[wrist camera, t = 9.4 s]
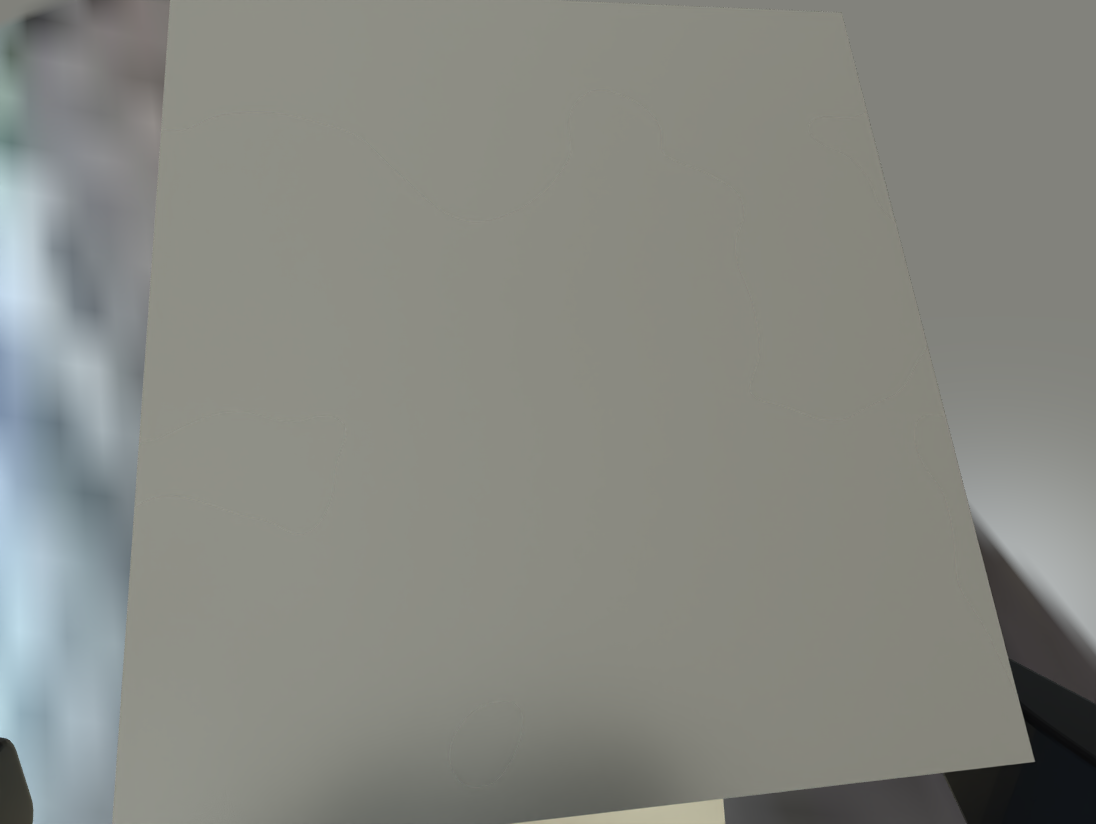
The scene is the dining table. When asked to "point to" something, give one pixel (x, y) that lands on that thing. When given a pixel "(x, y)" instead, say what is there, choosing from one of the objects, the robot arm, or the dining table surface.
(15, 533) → the dining table surface
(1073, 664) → the dining table surface
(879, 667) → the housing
